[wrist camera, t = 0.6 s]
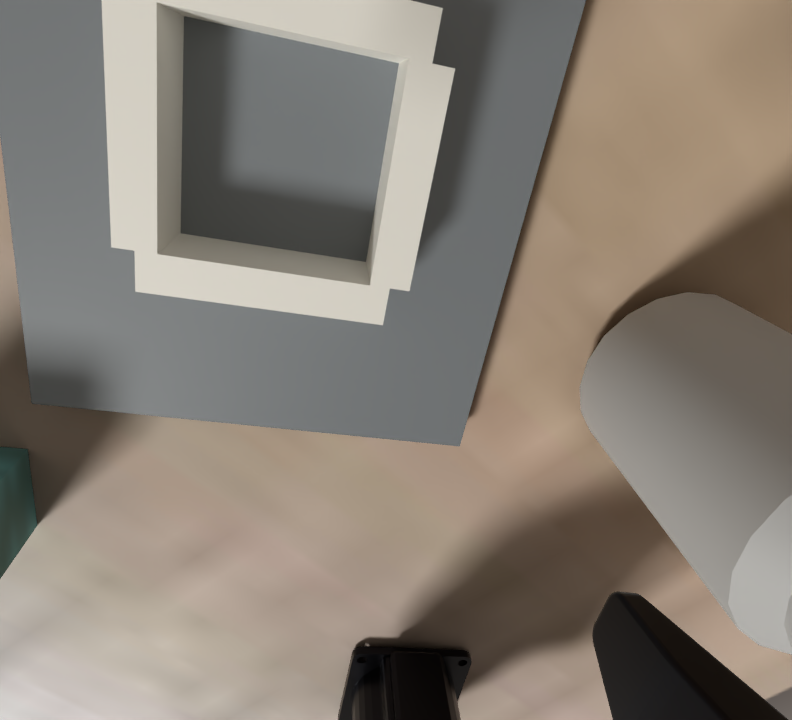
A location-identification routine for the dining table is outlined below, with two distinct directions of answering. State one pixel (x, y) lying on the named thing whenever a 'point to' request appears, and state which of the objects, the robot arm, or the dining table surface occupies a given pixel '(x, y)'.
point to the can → (706, 444)
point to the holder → (272, 201)
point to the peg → (15, 504)
